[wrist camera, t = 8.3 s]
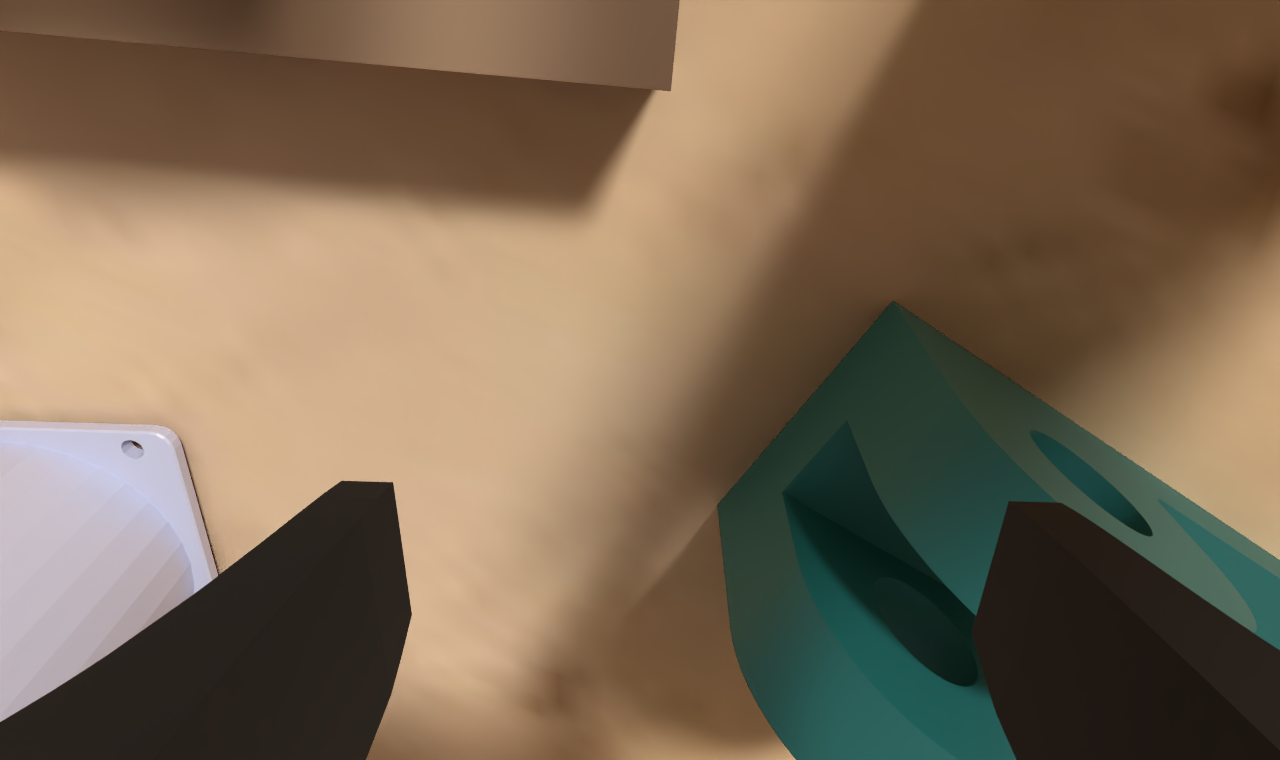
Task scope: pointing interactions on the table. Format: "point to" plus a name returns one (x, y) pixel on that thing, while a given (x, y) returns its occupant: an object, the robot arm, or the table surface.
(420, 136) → the table surface
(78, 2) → the walnut block
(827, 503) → the bracket
